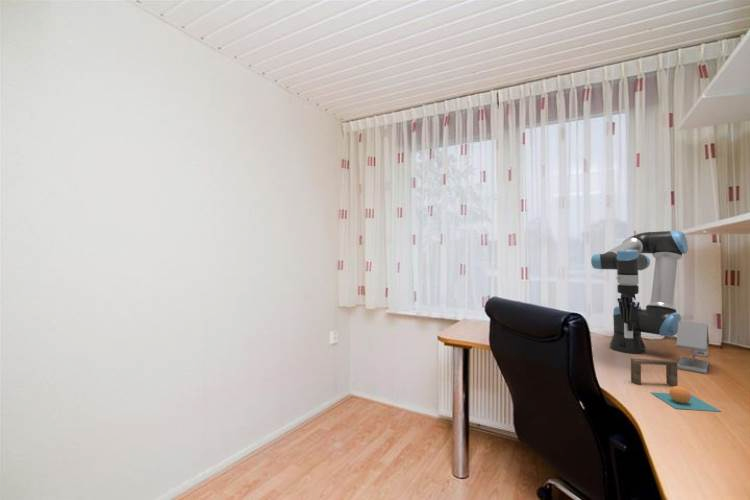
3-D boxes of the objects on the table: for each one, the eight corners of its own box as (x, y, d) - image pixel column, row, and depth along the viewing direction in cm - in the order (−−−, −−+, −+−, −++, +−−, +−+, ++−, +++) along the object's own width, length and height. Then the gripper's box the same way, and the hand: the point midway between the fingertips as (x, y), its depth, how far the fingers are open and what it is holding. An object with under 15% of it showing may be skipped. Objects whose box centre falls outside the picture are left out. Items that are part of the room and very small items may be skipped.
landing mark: (650, 392, 124) (650, 392, 124) (691, 395, 122) (690, 394, 122) (675, 408, 111) (675, 408, 111) (721, 411, 109) (721, 411, 109)
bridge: (631, 381, 135) (630, 358, 135) (672, 383, 133) (671, 360, 133) (635, 384, 132) (635, 360, 132) (677, 386, 130) (677, 362, 130)
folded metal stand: (706, 374, 142) (705, 327, 142) (676, 369, 149) (675, 323, 149) (709, 364, 155) (708, 320, 155) (681, 360, 162) (680, 318, 162)
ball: (663, 390, 120) (669, 382, 117) (681, 391, 119) (687, 383, 116) (671, 406, 116) (678, 398, 113) (690, 406, 115) (697, 398, 112)
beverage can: (700, 353, 172) (699, 323, 172) (711, 356, 166) (710, 326, 166) (688, 353, 172) (688, 323, 172) (699, 356, 166) (699, 326, 166)
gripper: (610, 283, 157) (611, 334, 156) (626, 285, 144) (627, 341, 144) (628, 283, 155) (629, 334, 155) (646, 285, 143) (647, 341, 142)
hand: (628, 337), depth 149 cm, fingers closed
